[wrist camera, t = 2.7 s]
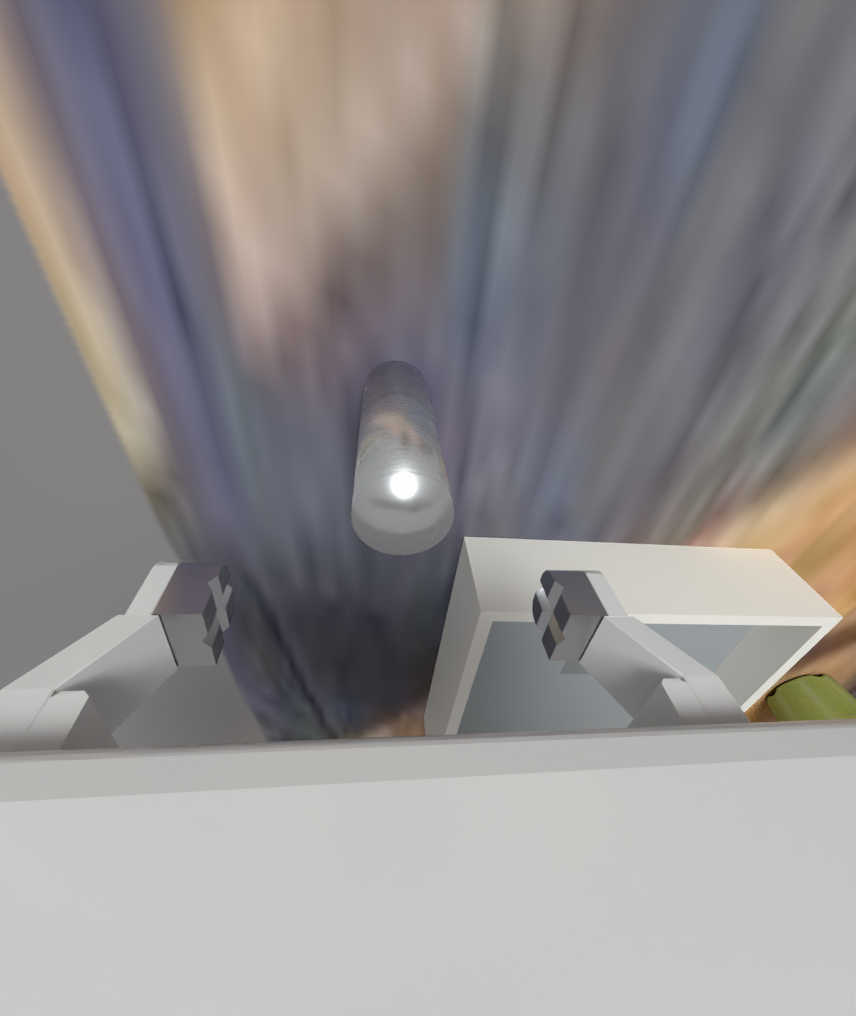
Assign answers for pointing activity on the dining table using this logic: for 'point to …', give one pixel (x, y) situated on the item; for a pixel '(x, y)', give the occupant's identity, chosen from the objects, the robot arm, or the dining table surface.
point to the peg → (399, 465)
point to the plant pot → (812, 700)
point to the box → (643, 594)
